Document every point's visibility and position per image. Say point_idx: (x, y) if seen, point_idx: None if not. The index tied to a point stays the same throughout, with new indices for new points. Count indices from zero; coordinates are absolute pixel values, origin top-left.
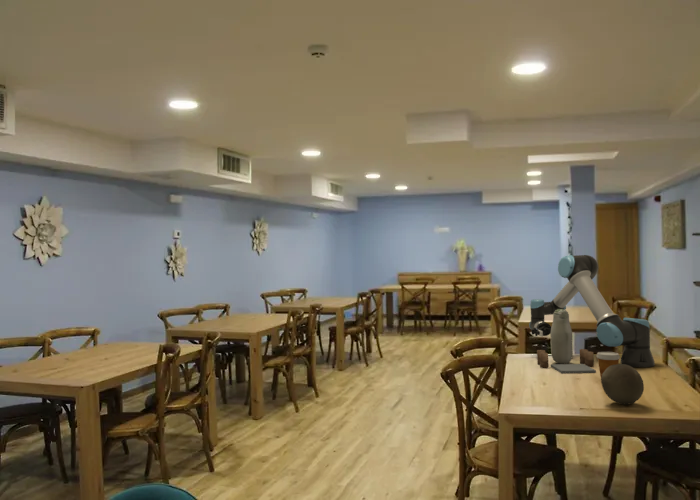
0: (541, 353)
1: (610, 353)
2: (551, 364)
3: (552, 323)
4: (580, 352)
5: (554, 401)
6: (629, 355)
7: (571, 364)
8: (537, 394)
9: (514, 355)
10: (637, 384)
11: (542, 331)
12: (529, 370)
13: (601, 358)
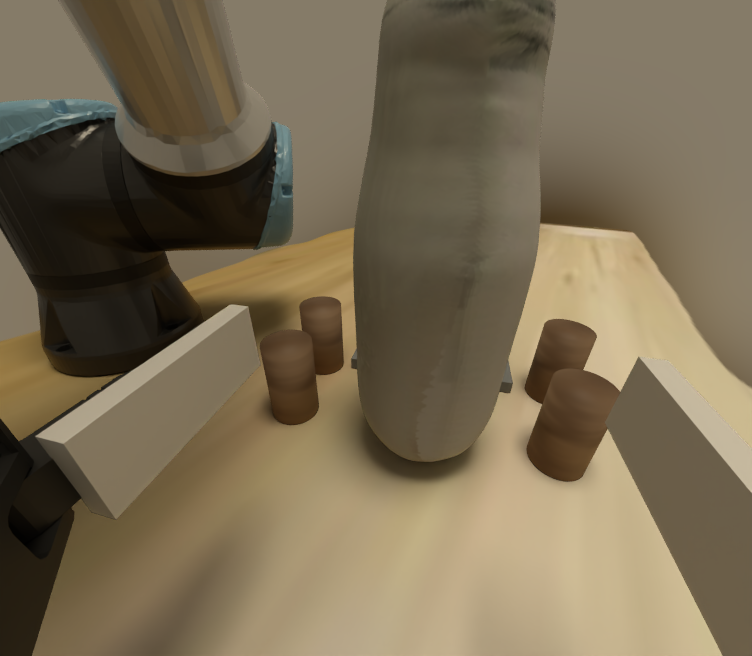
0: (584, 330)
1: None
2: (508, 382)
3: (539, 148)
4: (312, 355)
5: (558, 239)
6: (183, 289)
7: None
8: (586, 252)
9: None
10: None
11: (645, 359)
12: (624, 368)
13: None
